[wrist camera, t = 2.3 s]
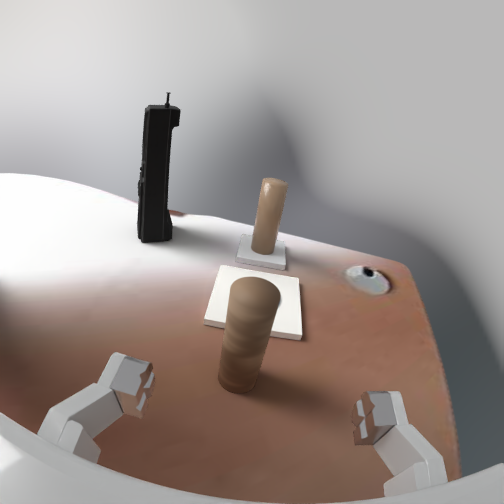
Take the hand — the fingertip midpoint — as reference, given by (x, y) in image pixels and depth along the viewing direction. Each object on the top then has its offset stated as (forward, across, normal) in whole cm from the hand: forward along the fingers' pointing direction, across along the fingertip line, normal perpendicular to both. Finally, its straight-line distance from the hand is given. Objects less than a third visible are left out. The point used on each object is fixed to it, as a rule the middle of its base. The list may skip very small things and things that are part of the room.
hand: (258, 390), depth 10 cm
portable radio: (+39, +20, +17) cm, 47 cm away
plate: (+25, 0, +17) cm, 30 cm away
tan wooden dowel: (+38, 0, +17) cm, 42 cm away
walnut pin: (+12, 0, +17) cm, 21 cm away
